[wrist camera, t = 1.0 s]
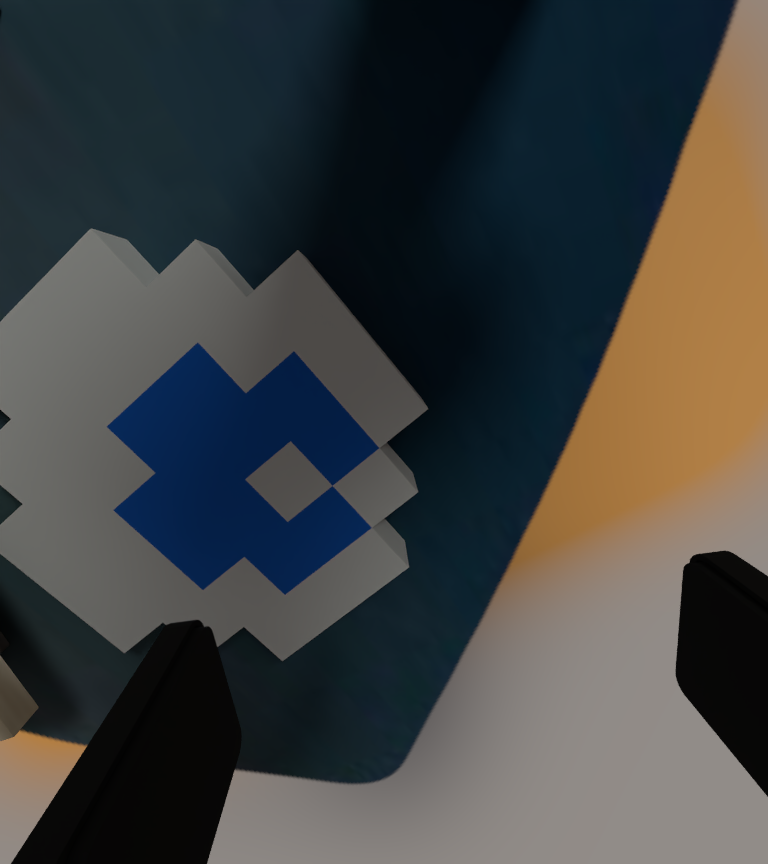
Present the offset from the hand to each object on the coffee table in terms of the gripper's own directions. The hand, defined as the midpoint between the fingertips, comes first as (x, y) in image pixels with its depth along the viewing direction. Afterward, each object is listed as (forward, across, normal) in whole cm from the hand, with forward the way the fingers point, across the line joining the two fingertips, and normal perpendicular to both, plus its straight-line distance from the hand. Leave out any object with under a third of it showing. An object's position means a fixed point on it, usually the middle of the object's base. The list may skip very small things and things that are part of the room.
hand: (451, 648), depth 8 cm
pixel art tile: (+23, +13, +2) cm, 27 cm away
